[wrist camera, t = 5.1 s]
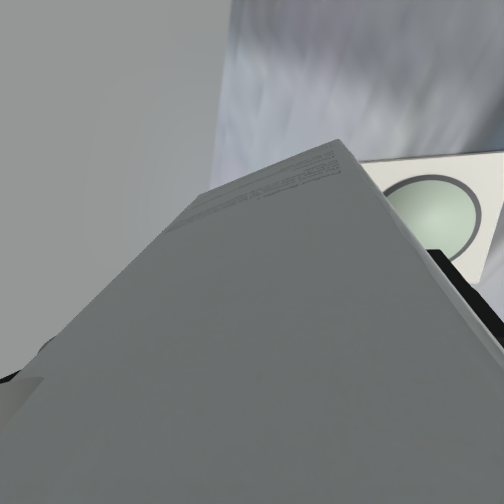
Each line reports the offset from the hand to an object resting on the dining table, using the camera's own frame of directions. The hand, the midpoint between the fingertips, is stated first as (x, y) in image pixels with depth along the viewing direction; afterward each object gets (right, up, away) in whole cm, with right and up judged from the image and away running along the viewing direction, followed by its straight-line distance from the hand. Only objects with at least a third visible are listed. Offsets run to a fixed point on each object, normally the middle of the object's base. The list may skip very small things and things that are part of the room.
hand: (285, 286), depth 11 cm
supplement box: (+1, +2, +4) cm, 5 cm away
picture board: (+16, +4, +20) cm, 26 cm away
